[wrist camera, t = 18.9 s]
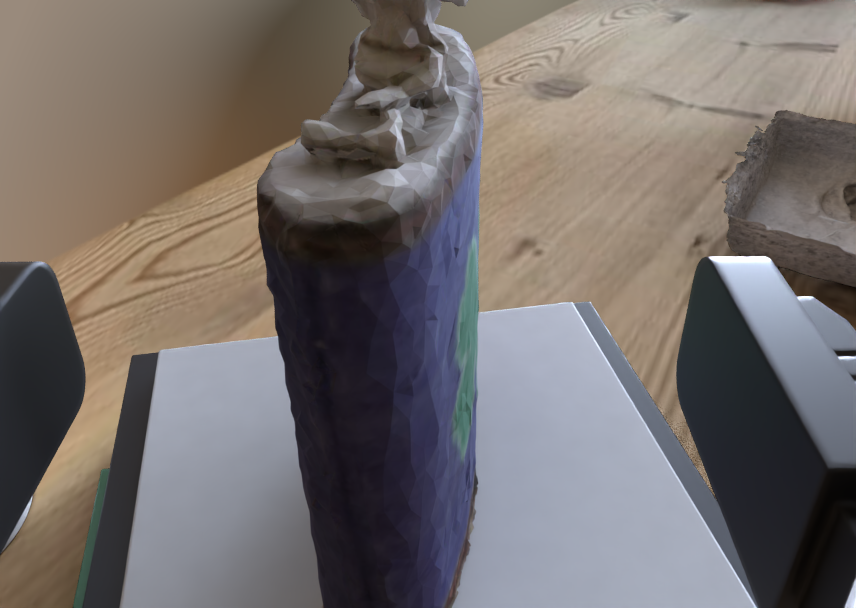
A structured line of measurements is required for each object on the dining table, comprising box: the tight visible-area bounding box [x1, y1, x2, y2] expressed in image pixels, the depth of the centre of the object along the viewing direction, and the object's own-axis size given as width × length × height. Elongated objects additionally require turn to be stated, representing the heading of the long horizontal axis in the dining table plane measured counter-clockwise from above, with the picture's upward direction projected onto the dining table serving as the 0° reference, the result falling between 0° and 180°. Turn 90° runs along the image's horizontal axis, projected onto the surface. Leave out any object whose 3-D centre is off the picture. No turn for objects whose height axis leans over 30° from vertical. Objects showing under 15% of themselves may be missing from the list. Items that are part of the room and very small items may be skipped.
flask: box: [257, 0, 483, 608], centre depth 15 cm, size 9×3×11 cm, turn 174°
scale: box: [73, 302, 758, 608], centre depth 19 cm, size 14×14×3 cm
